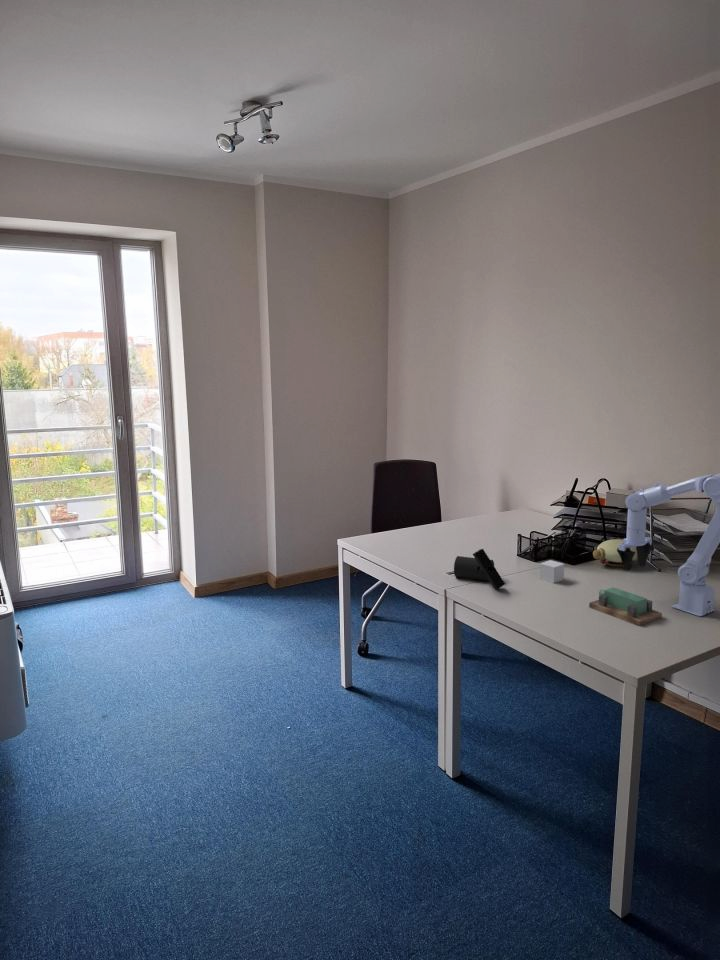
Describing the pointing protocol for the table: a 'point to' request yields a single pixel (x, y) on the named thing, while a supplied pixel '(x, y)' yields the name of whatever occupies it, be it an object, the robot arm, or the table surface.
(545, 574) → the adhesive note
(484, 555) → the track light
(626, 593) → the green bottle
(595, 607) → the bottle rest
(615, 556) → the cream rounded piece
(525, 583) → the table surface
